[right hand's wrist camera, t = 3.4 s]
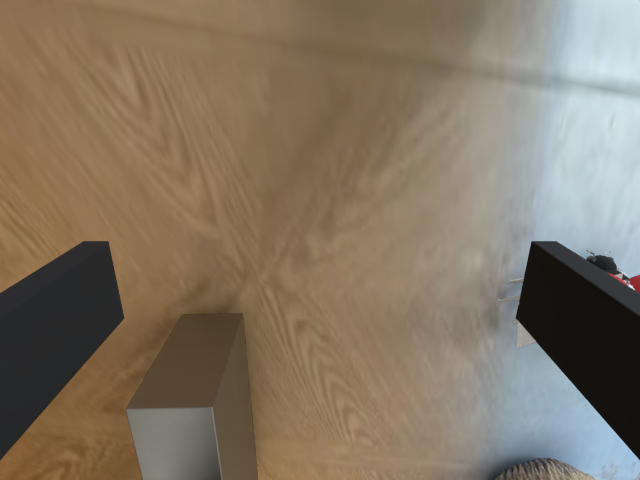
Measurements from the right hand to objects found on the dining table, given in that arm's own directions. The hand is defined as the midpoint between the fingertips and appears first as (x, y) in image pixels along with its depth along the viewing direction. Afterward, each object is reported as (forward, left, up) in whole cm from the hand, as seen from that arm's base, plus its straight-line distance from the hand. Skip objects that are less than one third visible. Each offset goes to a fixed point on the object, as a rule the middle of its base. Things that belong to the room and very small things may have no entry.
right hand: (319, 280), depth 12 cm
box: (+11, +27, -23) cm, 37 cm away
